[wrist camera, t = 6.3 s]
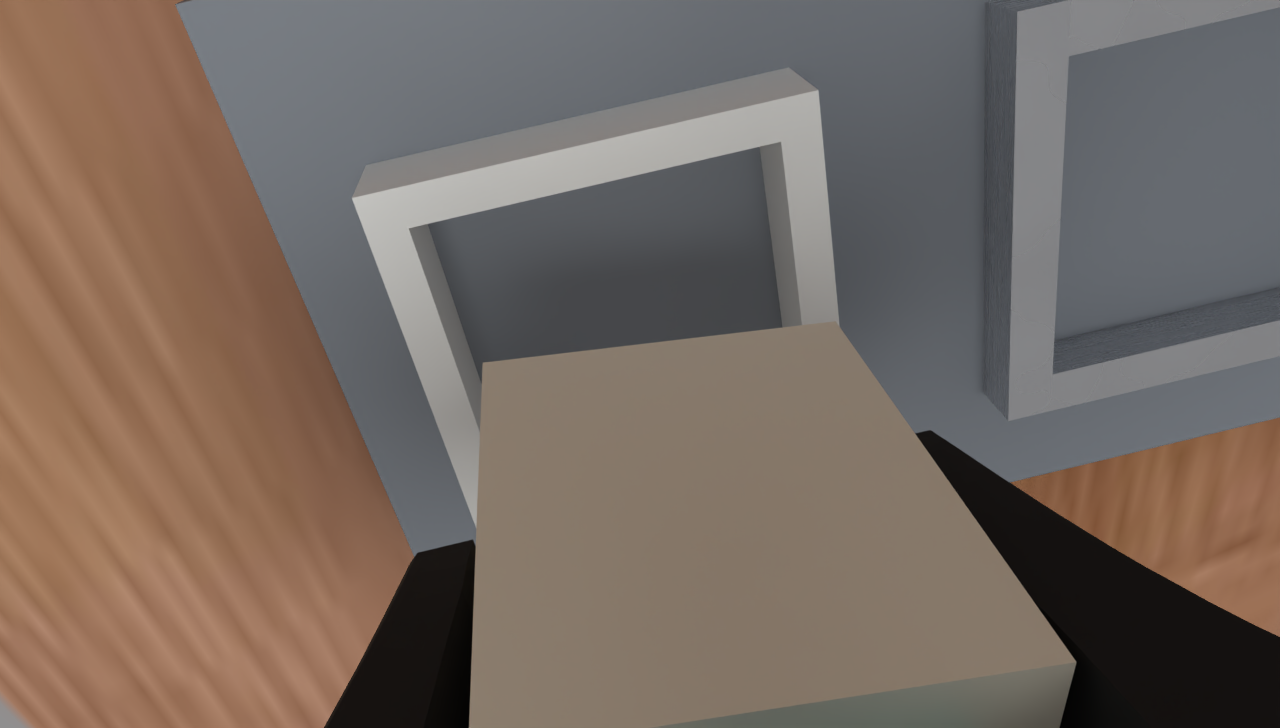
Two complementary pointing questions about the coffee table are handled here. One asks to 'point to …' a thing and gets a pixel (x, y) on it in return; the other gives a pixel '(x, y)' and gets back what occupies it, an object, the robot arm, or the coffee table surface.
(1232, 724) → the robot arm
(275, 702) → the coffee table surface
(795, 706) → the plug
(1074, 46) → the frame
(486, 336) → the panel plate
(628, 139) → the port
